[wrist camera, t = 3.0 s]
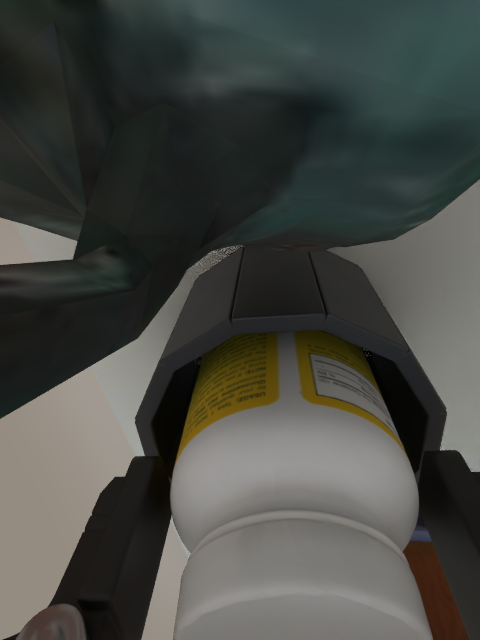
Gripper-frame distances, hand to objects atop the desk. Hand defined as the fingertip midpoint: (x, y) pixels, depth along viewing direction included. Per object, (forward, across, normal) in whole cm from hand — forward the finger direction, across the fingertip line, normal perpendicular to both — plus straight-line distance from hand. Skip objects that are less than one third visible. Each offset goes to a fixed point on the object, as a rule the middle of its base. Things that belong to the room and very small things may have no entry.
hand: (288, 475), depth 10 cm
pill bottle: (+7, 0, 0) cm, 7 cm away
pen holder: (+7, 0, 0) cm, 7 cm away
